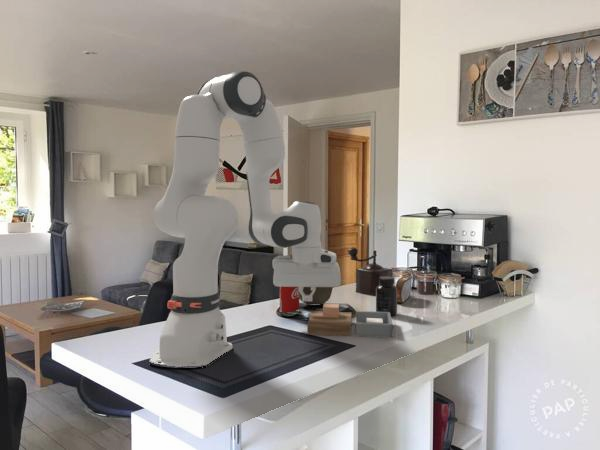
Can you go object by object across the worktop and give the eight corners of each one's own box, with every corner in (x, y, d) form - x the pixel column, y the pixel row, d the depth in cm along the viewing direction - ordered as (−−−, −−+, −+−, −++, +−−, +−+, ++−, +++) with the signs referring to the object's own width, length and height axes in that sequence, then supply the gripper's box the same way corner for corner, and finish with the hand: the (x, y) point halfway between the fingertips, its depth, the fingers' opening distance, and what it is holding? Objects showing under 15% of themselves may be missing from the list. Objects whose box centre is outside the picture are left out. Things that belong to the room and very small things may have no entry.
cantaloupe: (320, 299, 181) (320, 258, 180) (339, 308, 168) (340, 264, 167) (285, 303, 175) (285, 261, 174) (302, 312, 162) (302, 267, 161)
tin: (404, 296, 187) (404, 274, 187) (412, 297, 186) (412, 274, 185) (393, 304, 174) (393, 281, 173) (402, 305, 172) (402, 281, 172)
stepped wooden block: (350, 335, 138) (350, 325, 137) (307, 334, 139) (307, 323, 139) (351, 322, 151) (351, 312, 151) (312, 320, 153) (312, 311, 153)
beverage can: (299, 317, 156) (299, 280, 155) (279, 317, 157) (279, 279, 156) (299, 312, 163) (299, 276, 162) (280, 312, 163) (280, 276, 162)
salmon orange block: (338, 317, 145) (338, 307, 145) (322, 317, 145) (322, 307, 145) (338, 313, 149) (338, 304, 149) (323, 313, 150) (324, 303, 150)
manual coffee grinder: (370, 288, 201) (371, 244, 200) (393, 292, 193) (393, 246, 192) (345, 294, 191) (345, 247, 189) (367, 298, 183) (368, 250, 181)
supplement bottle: (377, 310, 165) (378, 275, 164) (398, 312, 163) (399, 276, 162) (373, 315, 159) (374, 278, 158) (395, 317, 157) (395, 280, 156)
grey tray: (392, 337, 136) (392, 324, 136) (355, 336, 137) (356, 323, 137) (389, 323, 150) (389, 312, 150) (356, 322, 151) (356, 310, 151)
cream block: (366, 322, 139) (366, 332, 139) (382, 322, 138) (382, 333, 138) (366, 317, 143) (366, 328, 143) (382, 318, 142) (382, 328, 143)
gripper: (270, 257, 145) (271, 303, 147) (340, 257, 143) (340, 304, 144) (273, 253, 152) (274, 298, 153) (341, 253, 149) (341, 298, 151)
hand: (307, 301), depth 149 cm, fingers closed
